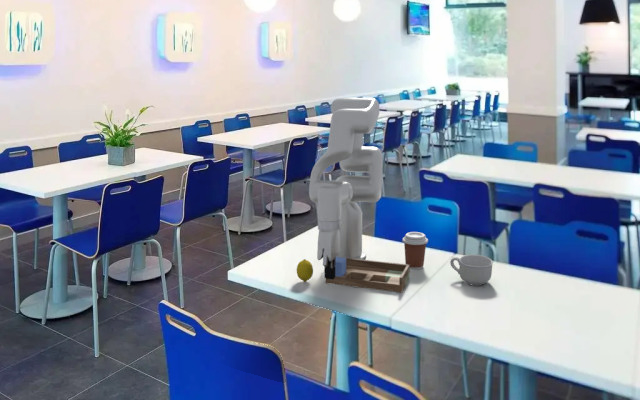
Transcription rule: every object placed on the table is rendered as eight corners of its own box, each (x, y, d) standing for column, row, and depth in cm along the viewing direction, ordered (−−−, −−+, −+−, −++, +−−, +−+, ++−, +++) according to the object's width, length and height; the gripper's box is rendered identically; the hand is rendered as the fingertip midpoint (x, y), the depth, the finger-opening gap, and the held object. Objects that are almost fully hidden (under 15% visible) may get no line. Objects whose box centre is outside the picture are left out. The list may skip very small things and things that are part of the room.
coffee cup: (432, 267, 204) (433, 235, 201) (414, 272, 199) (414, 239, 196) (414, 260, 211) (415, 229, 209) (396, 265, 206) (397, 233, 204)
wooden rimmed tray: (337, 270, 202) (337, 256, 201) (409, 278, 194) (409, 264, 192) (325, 283, 190) (325, 269, 189) (401, 292, 182) (401, 277, 181)
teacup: (497, 281, 190) (498, 259, 188) (481, 291, 182) (483, 267, 180) (460, 272, 199) (461, 250, 197) (443, 280, 191) (444, 258, 190)
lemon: (311, 285, 189) (310, 262, 187) (295, 284, 190) (294, 261, 188) (314, 279, 194) (314, 257, 192) (299, 278, 195) (298, 256, 193)
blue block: (332, 270, 195) (332, 256, 194) (346, 271, 193) (346, 258, 192) (327, 275, 191) (327, 261, 189) (341, 276, 189) (341, 262, 188)
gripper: (326, 217, 189) (326, 269, 193) (310, 229, 175) (311, 285, 179) (347, 219, 186) (347, 271, 190) (333, 231, 173) (333, 287, 177)
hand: (329, 278), depth 185 cm, fingers closed
